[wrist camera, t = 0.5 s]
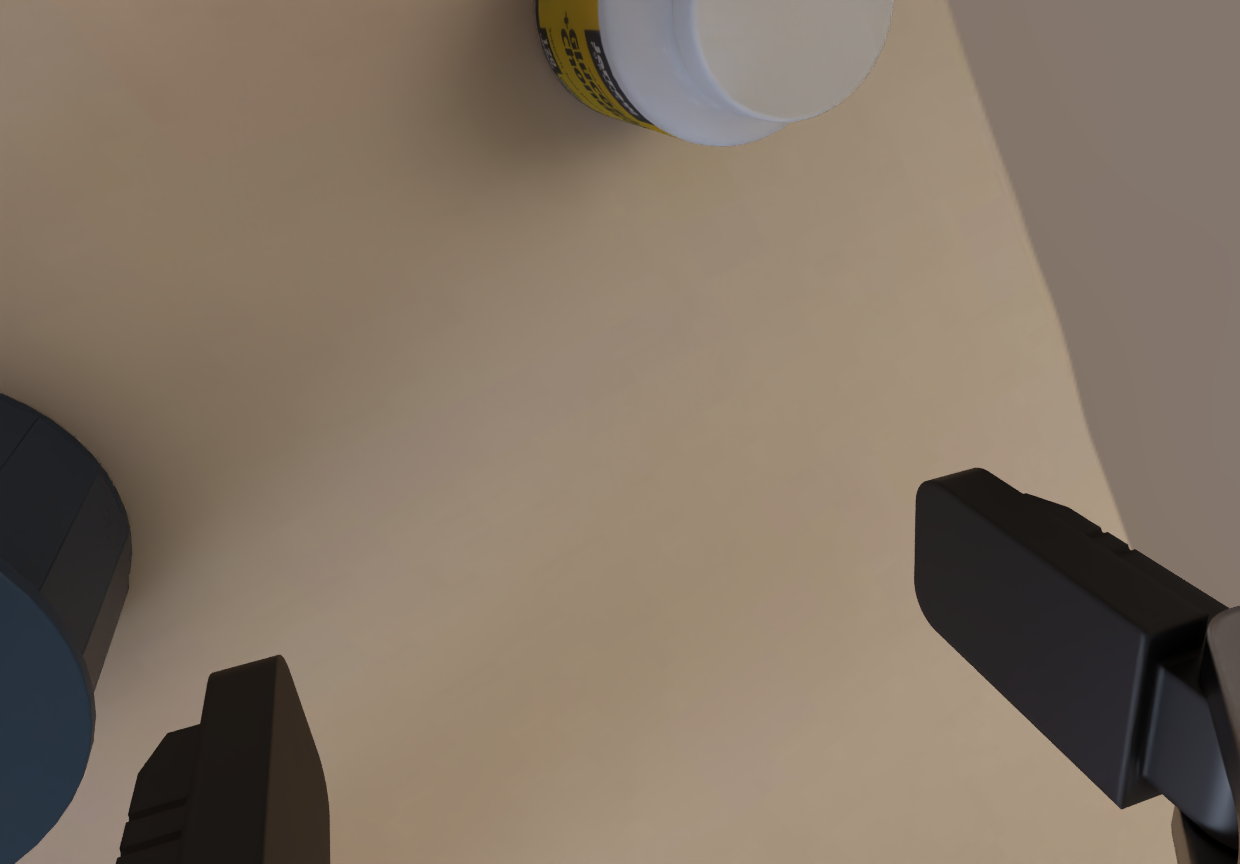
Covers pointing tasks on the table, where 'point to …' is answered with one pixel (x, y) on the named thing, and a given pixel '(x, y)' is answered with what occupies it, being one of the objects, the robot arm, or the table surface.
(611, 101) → the pill bottle
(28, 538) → the pot
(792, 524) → the table surface
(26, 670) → the lid
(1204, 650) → the robot arm
